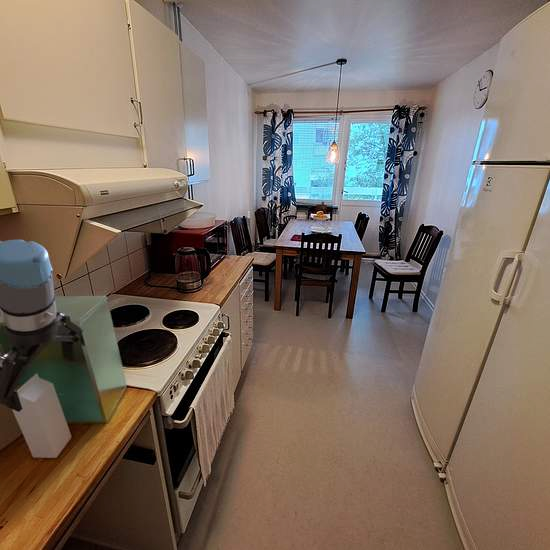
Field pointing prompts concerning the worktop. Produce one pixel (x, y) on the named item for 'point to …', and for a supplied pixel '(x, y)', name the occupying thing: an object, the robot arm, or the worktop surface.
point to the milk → (42, 418)
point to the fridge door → (8, 426)
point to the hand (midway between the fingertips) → (44, 381)
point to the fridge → (80, 362)
